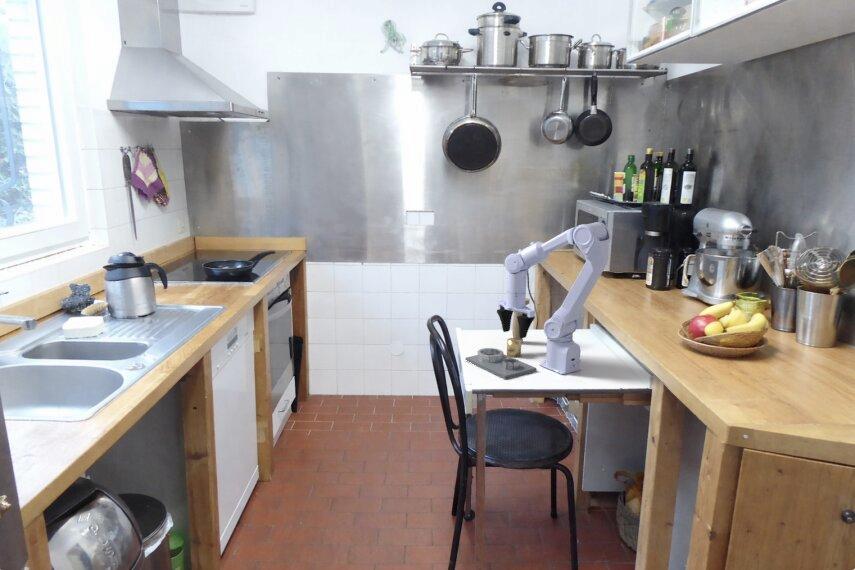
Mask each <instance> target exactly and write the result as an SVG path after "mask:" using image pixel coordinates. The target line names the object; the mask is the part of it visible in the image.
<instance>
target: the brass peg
mask: <svg viewBox="0 0 855 570" xmlns="http://www.w3.org/2000/svg"><path fill="white" fill-rule="evenodd" d="M506 340H507V341H506V355H507V356H509V357H512V358H515V359H517V357H518V358H521V356H522V343H521V339H518V338H513V337H509V338H507V339H506Z"/></svg>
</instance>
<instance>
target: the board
mask: <svg viewBox="0 0 855 570" xmlns="http://www.w3.org/2000/svg"><path fill="white" fill-rule="evenodd" d="M505 358H512V357H509V356H507V354H503V359H505ZM465 360H467V361H469V362H471V363H472V364H471V363H470V364H471V365H473V364H474V365H473V366H475V365H476V367H478V368H480V369H482V370H484V371H487V372H488V373H490V374H493V375H495V376H497V377H499V378H501V379H502V380H508V379H511V378H515V377H519V376H524V375H527V374H530V373H531V374H532V373H535V372H537V367H536V366H533V365H530V364H528V363H525V362H523V361H520V360H519V365H518V369H516V370H507V369H504V368H502V361H501V362H496V363H488V362H482V361H480V360H478V358H477V354H476V355H471V356H466V357H465ZM467 361H466V362H467ZM469 362H468V363H469Z"/></svg>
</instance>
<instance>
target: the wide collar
mask: <svg viewBox="0 0 855 570" xmlns="http://www.w3.org/2000/svg"><path fill="white" fill-rule="evenodd" d="M503 354H504V351H503V350H501V349H498V348H494V347H484V348H479V349H478V350H477V353H476V355H477V358H478V360H480V361H482V362H488V363H496V362H501V361H502V360H503ZM504 355H505V354H504Z"/></svg>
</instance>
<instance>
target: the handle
mask: <svg viewBox="0 0 855 570" xmlns="http://www.w3.org/2000/svg"><path fill="white" fill-rule="evenodd" d="M530 302H531V301H530V298H528V297H526V300H525V306H527V305H529V304H530ZM517 316H522V314H520V313H517V312H514V311H513V316H512V318H513V319H512V327H511V328H512V330H511V331H512V338H518V339H521V344H523V342H524V338H520V337H519V323H518V319H517Z"/></svg>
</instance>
